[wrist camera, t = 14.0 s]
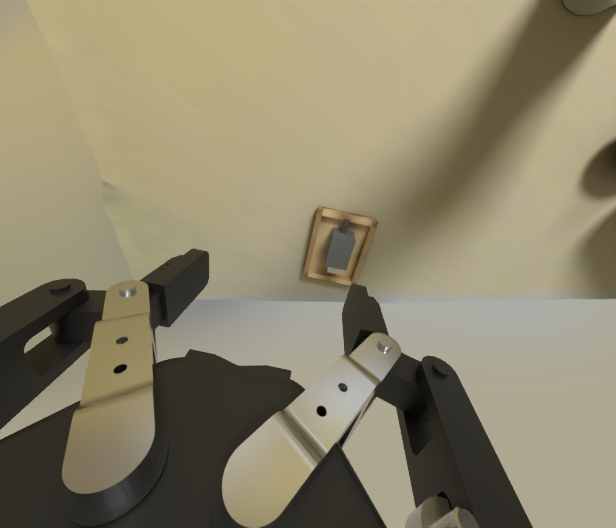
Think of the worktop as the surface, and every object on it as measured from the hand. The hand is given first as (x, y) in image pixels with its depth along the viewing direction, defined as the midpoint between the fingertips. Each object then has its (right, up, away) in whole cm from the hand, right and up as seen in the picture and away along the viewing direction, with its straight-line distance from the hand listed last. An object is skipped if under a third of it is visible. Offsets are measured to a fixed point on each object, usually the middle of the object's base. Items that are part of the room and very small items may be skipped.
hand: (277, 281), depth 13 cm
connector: (+8, +5, +32) cm, 33 cm away
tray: (+8, +5, +33) cm, 34 cm away
